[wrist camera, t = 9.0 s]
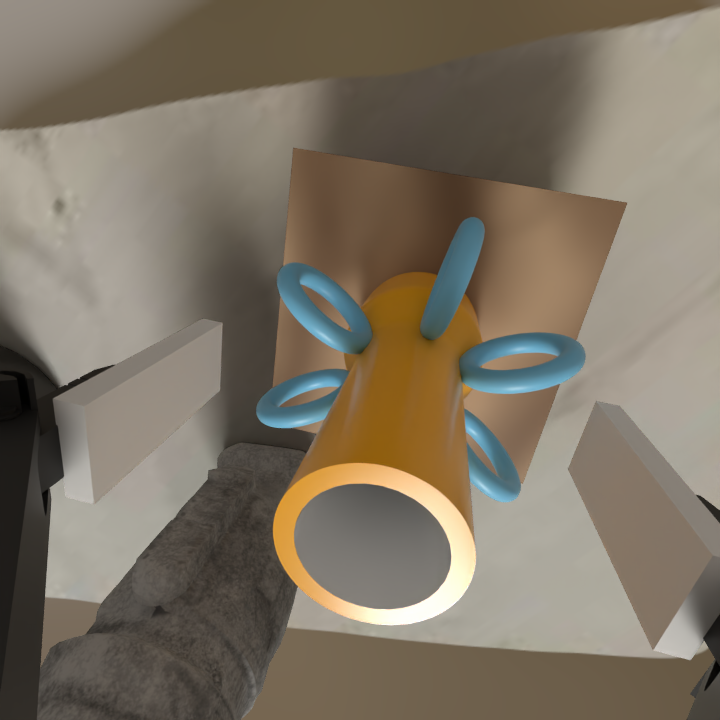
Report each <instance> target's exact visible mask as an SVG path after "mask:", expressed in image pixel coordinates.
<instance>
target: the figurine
mask: <svg viewBox="0 0 720 720" xmlns="http://www.w3.org/2000/svg"><path fill="white" fill-rule="evenodd" d="M305 455H306V453H305V452H303V451H301V450H294V449H288V448H282V447H274V446H267V445H259V444H250V443H238V444H236V445H233V446H231V447H228V448H226V449H224V450H223V451H222V453H221V454H220V455H219V457H218V462H217V466H218V468H217V469H212V470H208V480H207V481H206V482H205V483H204V484H203V485H202V486H201V488H200V489H199V490H198V491H197V492H196V493H195V495H194V496H193V497H192V498H191V499H190V500H189V501H188V502H187V503H186V504H185V505H184V506H183V507H182V508H181V510H180V511H179V512H178V514H177V515H176V517H175V518H174V519H173V520H171V521H170V522H169V523H168V524H167V525H166V527H165V528H164V529H163V530H162V531H161V532H160V533H159V534H158V535H157V537H156V538H155V539H154V540H153V541H152V542H151V543H150V545H149V546H148V547H147V548H146V549H145V550H144V551H143V553H142V554H141V555H140V556H139V557H138V558H137V560H136V563H135V564H134V565H133V567H132V568H131V569H130V570H129V571H128V573H127V574H126V575H125V576H124V578H123V579H122V580H121V581H120V583H119V584H118V585H117V586H116V587H115V588H114V589H113V590H112V592H111V593H110V594H109V595H108V596H107V597H106V598H105V600H104V601H103V602H102V604H101V606H100V607H99V609H98V611H97V616H96V622H95V623H94V624H93V626H92V627H91V628H90V629H89V631H88V632H87V633H86V634H85V635H83V636H78V637H74V638H71V639H68V640H65V641H62V642H59V643H57V644H56V645H55V646H53V647H52V648H51V649H50V651H49V653H48V654H47V656H46V659H45V660H44V662H43V665H42V667H41V668H40V678H39V693H38V708H37V720H241V718H243V717H244V716H245V715H246V714H247V713H248V712H249V711H250V710H251V708H252V707H253V705H254V702H255V700H256V698H257V696H258V695H259V694H260V692H261V691H262V687H263V684H264V680H265V677H266V673H267V670H268V666H269V663H270V661H271V659H272V658H273V656H274V654H275V653H276V651H277V649H278V647H279V645H280V644H281V641H282V638H283V636H284V633H285V631H286V627H287V624H288V620H289V617H290V613H291V610H292V606H293V603H294V599H295V594H296V590H297V587H298V586H297V585H296V584H295V583H294V581H293V580H292V579H291V578H290V576H289V575H288V574H287V572H286V571H285V569H284V567H283V566H282V564H281V562H280V560H279V557H278V555H277V552H276V549H275V544H274V539H273V522H274V517H275V513H276V510H277V507H278V505H279V503H280V501H281V499H282V498H283V496H284V494H285V492H286V490H287V488H288V486H289V485H290V483H291V481H292V479H293V477H294V475H295V473H296V472H297V470H298V468H299V466H300V464H301V462H302V460H303V458H304V457H305Z"/></svg>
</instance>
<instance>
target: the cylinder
mask: <svg viewBox="0 0 720 720" xmlns="http://www.w3.org/2000/svg"><path fill="white" fill-rule="evenodd" d="M484 234H485V228H484V224H483V222H482V221H481V220H480V219H478V218H476V217H470V218H467V219H465V220H464V221H463V222H462V223H461V224H460V226H459V228H458V230H457V231H456V233H455V236H454V238H453V240H452V242H451V244H450V246H449V249H448V251H447V253H446V256H445V258H444V260H443V263H442V265H441V268H440V270H439V273H438V275H436V274H432V273H427V272H409V273H403V274H400V275H397V276H394V277H392V278H390V279H388V280H386V281H385V282H383V283H382V284H381V285H379V286H378V287H377V288H376V289H375V290H374V291H373V292H372V293H371V294H370V296H369V297H368V298H367V300H366V301H365V302H364V304H363V305H362V306H361V308H360V307H359V305H358V304H357V303H356V302H355V301H354V299H353V298H352V297H351V296H350V295H349V294H348V293H347V292H346V291H345V290H344V289H343V288H342V287H341V286H339V285H338V284H337V283H336V282H335V281H333V280H332V279H331V278H330V277H328V276H327V275H325V274H324V273H322V272H321V271H319V270H317V269H315V268H313V267H311V266H309V265H306V264H303V263H297V262H293V263H288V264H286V265H284V266H283V267H282V268H281V269H280V271H279V273H278V276H277V286H278V290H279V293H280V295H281V298H282V300H283V301H284V303H285V305H286V306H287V308H288V309H289V311H290V312H291V313H292V314H293V316H294V317H295V318H296V319H297V320H298V321H299V322H300V323H301V324H302V325H303V326H304V327H305V328H306V329H307V330H308V331H309V332H310V333H311V334H312V335H314V336H315V337H316V338H318V339H319V340H320V341H322V342H323V343H325V344H326V345H328V346H330V347H332V348H334V349H336V350H338V351H341V352H344V360H345V366H346V370H344V369H324V370H318V371H313V372H309V373H306V374H302V375H299V376H297V377H294V378H291V379H289V380H287V381H285V382H282V383H281V384H279V385H277V386H275V387H274V388H272V389H271V390H269V391H268V392H267V393H266V394H264V395H263V396H262V398H261V399H260V400H259V402H258V404H257V407H256V413H257V417H258V418H259V420H260V421H261V422H262V423H264V424H265V425H267V426H270V427H274V428H293V427H300V426H305V425H309V424H312V423H315V422H318V421H321V420H324V421H323V423H322V425H321V427H320V429H319V431H318V432H317V434H316V436H315V438H314V440H313V442H312V444H311V445H310V447H309V449H308V451H307V453H306V455H305V457H304V458H303V460H302V462H301V464H300V466H299V468H298V470H297V472H296V473H295V475H294V477H293V479H292V481H291V483H290V485H289V486H288V488H287V490H286V492H285V494H284V496H283V498H282V499H281V501H280V503H279V505H278V507H277V510H276V513H275V517H274V522H273V539H274V544H275V549H276V552H277V555H278V557H279V560H280V562H281V564H282V566H283V567H284V569H285V571H286V572H287V574H288V575H289V576H290V578H291V579H292V580H293V581H294V583H295V584H296V585H297V586H298V587H299V588H300V589H301V590H302V591H303V592H304V593H306V594H307V595H308V596H309V597H311V598H312V599H313V600H315V601H316V602H317V603H319V604H321V605H322V606H324V607H326V608H327V609H329V610H331V611H333V612H335V613H338V614H340V615H342V616H345V617H348V618H351V619H354V620H358V621H362V622H366V623H372V624H380V625H402V624H410V623H415V622H419V621H423V620H426V619H429V618H432V617H434V616H436V615H438V614H440V613H442V612H444V611H445V610H447V609H448V608H450V607H451V606H452V605H453V604H454V603H456V602H457V601H458V600H459V599H460V597H461V596H462V595H463V594H464V592H465V591H466V589H467V588H468V586H469V584H470V582H471V580H472V577H473V574H474V569H475V563H476V551H475V538H474V526H473V514H472V501H471V489H470V482H471V483H472V484H474V485H475V486H476V487H477V488H478V489H479V490H480V491H482V492H483V493H484V494H486V495H487V496H489V497H490V498H492V499H494V500H497V501H500V502H510V501H513V500H514V499H516V498H517V497H518V495H519V493H520V489H521V483H520V478H519V475H518V472H517V469H516V467H515V465H514V463H513V461H512V459H511V458H510V456H509V454H508V453H507V451H506V450H505V448H504V447H503V445H502V444H501V443H500V441H499V440H498V439H497V438H496V436H495V435H494V434H493V433H492V432H491V431H490V429H489V428H488V427H487V426H486V425H485V424H484V423H483V422H482V421H481V420H480V419H478V418H477V417H476V416H475V415H474V414H472V413H471V412H470V411H468V410H467V409H465V408H464V399H465V398H466V397H467V396H468V394H469V393H470V392H471V391H472V389H475V390H478V391H482V392H487V393H496V394H516V393H526V392H532V391H537V390H542V389H546V388H549V387H552V386H555V385H558V384H560V383H562V382H564V381H566V380H568V379H570V378H571V377H573V376H574V375H575V374H577V373H578V372H579V371H580V369H581V368H582V367H583V365H584V362H585V357H586V356H585V351H584V348H583V347H582V345H581V344H580V343H579V342H577V341H576V340H574V339H573V338H571V337H568V336H565V335H561V334H555V333H545V332H532V333H520V334H513V335H507V336H503V337H498V338H495V339H491V340H488V341H485V342H483V341H482V336H481V332H480V328H479V324H478V320H477V316H476V313H475V310H474V308H473V305H472V304H471V302H470V300H469V298H468V297H467V296H466V294H465V291H466V289H467V286H468V284H469V281H470V279H471V276H472V274H473V271H474V268H475V266H476V263H477V260H478V257H479V254H480V251H481V247H482V244H483V240H484ZM301 284H302V285H304V286H307V287H309V288H311V289H312V290H314V291H316V292H317V293H319V294H320V295H321V296H323V297H324V298H325V299H326V300H327V301H329V302H330V303H331V304H332V305H333V306H334V307H335V308H336V309H337V310H338V311H339V313H340V314H341V315H342V316H343V317H344V319H345V320H346V322H347V323H348V325H349V328H348V330H346V329H344V328H343V327H341V326H339V325H338V324H336V323H335V322H334V321H332V320H331V319H330V318H328V317H327V316H326V315H325V314H324V313H323V312H322V311H321V310H320V309H319V308H318V307H317V306H316V305H315V304H314V303H313V302H312V301H311V300H310V298H309V297H308V296H307V294H306V293H305V291H304V290H303V288H302V286H301ZM520 353H547V354H552V355H556V356H558V357H556V358H554V359H553V360H550V361H548V362H545V363H543V364H539V365H536V366H532V367H527V368H521V369H512V370H491V369H485V368H482V365H483V364H485V363H487V362H489V361H491V360H494V359H497V358H500V357H504V356H508V355H513V354H520ZM323 387H338V388H337V389H336V390H334V391H333V392H331V393H329V394H328V395H326V396H324V397H321V398H319V399H316V400H314V401H311V402H308V403H304V404H301V405H296V406H290V407H279V406H280V405H281V404H282V403H284V402H285V401H287V400H289V399H290V398H292V397H294V396H297V395H299V394H301V393H304V392H307V391H310V390H314V389H318V388H323ZM466 432H467V433H468V434H469V435H470V436H471V437H472V438H473V439H474V440H475V441H476V442H477V443H478V444H479V446H480V447H481V448H482V449H483V451H484V452H485V453H486V455H487V456H488V458H489V459H490V461H491V463H492V464H493V466H494V468H495V470H496V472H497V475H498V476H497V475H495V474H494V473H493V472H492V471H491V470H490V469H489V468H488V467H487V466H486V465H485V464H484V463H483V462H482V461H481V460H480V459H479V458H478V456H477V455H476V454H475V453H474V451H473V450H472V449H471V447H470V446H469V444H468V443H467V439H466Z"/></svg>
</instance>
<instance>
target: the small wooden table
mask: <svg viewBox="0 0 720 720" xmlns="http://www.w3.org/2000/svg"><path fill="white" fill-rule="evenodd" d="M626 205H627V203H625V202H619V201H613V200H607V199H601V198H595V197H589V196H583V195H577V194H571V193H565V192H559V191H553V190H546V189H540V188H534V187H528V186H522V185H516V184H510V183H504V182H498V181H492V180H486V179H480V178H474V177H468V176H461V175H455V174H449V173H443V172H437V171H431V170H425V169H419V168H413V167H407V166H401V165H395V164H389V163H383V162H376V161H370V160H364V159H358V158H352V157H346V156H340V155H334V154H328V153H322V152H316V151H310V150H304V149H297V148H293V158H292V170H291V181H290V192H289V204H288V215H287V227H286V238H285V250H284V261H283V266H284V265H286V264H288V263H293V262H297V263H303V264H306V265H309V266H311V267H313V268H315V269H317V270H319V271H321V272H322V273H324V274H325V275H327V276H328V277H330V278H331V279H332V280H333V281H335V282H336V283H337V284H338V285H339V286H341V287H342V288H343V289H344V290H345V291H346V292H347V293H348V294H349V295H350V296H351V297H352V298H353V299H354V301H355V302H356V303H357V304H358V305H359V307H360V308H361V306H362V305H363V304H364V302H365V301H366V300H367V298H368V297H369V296H370V294H371V293H372V292H373V291H374V290H375V289H376V288H377V287H378V286H379V285H381V284H382V283H383V282H385V281H386V280H388V279H390V278H392V277H394V276H397V275H400V274H403V273H409V272H427V273H432V274H436V275H438V273H439V270H440V268H441V265H442V263H443V260H444V258H445V256H446V253H447V251H448V249H449V246H450V244H451V242H452V240H453V238H454V236H455V233H456V231H457V230H458V228H459V226H460V224H461V223H462V222H463V221H464V220H465V219H467V218H470V217H476V218H478V219H480V220H481V221H482V222H483V224H484V228H485V234H484V240H483V244H482V247H481V251H480V254H479V257H478V260H477V263H476V266H475V268H474V271H473V274H472V276H471V279H470V281H469V284H468V286H467V289H466V291H465V294H466V296H467V297H468V298H469V300H470V302H471V304H472V305H473V308H474V310H475V313H476V316H477V320H478V324H479V328H480V332H481V336H482V341H483V342H485V341H488V340H491V339H495V338H498V337H503V336H507V335H513V334H520V333H532V332H545V333H555V334H561V335H565V336H568V337H571V338H573V339H574V340H576V339H577V337H578V334H579V331H580V329H581V326H582V323H583V321H584V318H585V315H586V313H587V310H588V307H589V305H590V302H591V299H592V296H593V294H594V291H595V288H596V286H597V283H598V280H599V278H600V275H601V272H602V270H603V267H604V264H605V262H606V259H607V256H608V254H609V251H610V248H611V245H612V243H613V240H614V237H615V235H616V232H617V229H618V227H619V224H620V221H621V219H622V216H623V213H624V211H625V208H626ZM301 286H302V288H303V290H304V291H305V293H306V294H307V296H308V297H309V298H310V300H311V301H312V302H313V303H314V304H315V305H316V306H317V307H318V308H319V309H320V310H321V311H322V312H323V313H324V314H325V315H326V316H327V317H328V318H330V319H331V320H332V321H334V322H335V323H336V324H338V325H339V326H341V327H343V328H344V329H346V330H348V328H349V325H348V323H347V322H346V320H345V319H344V317H343V316H342V315H341V314H340V313H339V311H338V310H337V309H336V308H335V307H334V306H333V305H332V304H331V303H330V302H329V301H327V300H326V299H325V298H324V297H323V296H321V295H320V294H319V293H317V292H316V291H314V290H312V289H311V288H309V287H307V286H304V285H302V284H301ZM556 357H558V356H556V355H552V354H547V353H520V354H513V355H508V356H504V357H500V358H497V359H494V360H491V361H489V362H487V363H485V364H483V365H482V368H485V369H491V370H512V369H521V368H527V367H532V366H536V365H539V364H543V363H545V362H548V361H550V360H553V359H554V358H556ZM324 369H344V370H346V366H345V360H344V352H341V351H338V350H336V349H334V348H332V347H330V346H328V345H326V344H325V343H323V342H322V341H320V340H319V339H318V338H316V337H315V336H314V335H312V334H311V333H310V332H309V331H308V330H307V329H306V328H305V327H304V326H303V325H302V324H301V323H300V322H299V321H298V320H297V319H296V318H295V317H294V316H293V314H292V313H291V312H290V311H289V309H288V308H287V306H286V305H285V303H284V301H283V300H282V298H281V296H280V307H279V319H278V330H277V341H276V353H275V364H274V376H273V387H272V388H274V387H275V386H277V385H279V384H281V383H282V382H285V381H287V380H289V379H291V378H294V377H297V376H299V375H302V374H306V373H309V372H313V371H318V370H324ZM559 385H560V384H558V385H555V386H552V387H549V388H546V389H542V390H537V391H532V392H526V393H516V394H496V393H487V392H482V391H478V390H475V389H472V391H471V392H470V393H469V394H468V396H467V397H466V398H465V399H464V408H465V409H467V410H468V411H470V412H471V413H472V414H474V415H475V416H476V417H477V418H478V419H480V420H481V421H482V422H483V423H484V424H485V425H486V426H487V427H488V428H489V429H490V431H491V432H492V433H493V434H494V435H495V436H496V438H497V439H498V440H499V441H500V443H501V444H502V445H503V447H504V448H505V450H506V451H507V453H508V454H509V456H510V458H511V459H512V461H513V463H514V465H515V467H516V469H517V472H518V475H519V478H520V483H522V484H523V482H524V479H525V476H526V474H527V471H528V468H529V466H530V463H531V460H532V458H533V455H534V452H535V449H536V447H537V444H538V441H539V439H540V436H541V433H542V431H543V428H544V425H545V423H546V420H547V417H548V415H549V412H550V409H551V407H552V404H553V401H554V398H555V396H556V393H557V390H558V388H559ZM337 388H338V387H323V388H318V389H314V390H310V391H307V392H304V393H301V394H299V395H297V396H294V397H292V398H290V399H289V400H287V401H285V402H284V403H282V404H281V405H280V406H279V407H290V406H296V405H301V404H304V403H308V402H311V401H314V400H316V399H319V398H321V397H324V396H326V395H328V394H329V393H331V392H333V391H334V390H336V389H337ZM323 421H324V420H321V421H318V422H315V423H312V424H309V425H305V426H300V427H293V428H294V429H298V430H303V431H307V432H311V433H315V434H317V432H318V431H319V429H320V427H321V425H322V423H323ZM466 439H467V443H468V444H469V446H470V447H471V449H472V450H473V451H474V453H475V454H476V455H477V456H478V458H479V459H480V460H481V461H482V462H483V463H484V464H485V465H486V466H487V467H488V468H489V469H490V470H491V471H492V472H493V473H494V474H495V475H497V472H496V470H495V468H494V466H493V464H492V463H491V461H490V459H489V458H488V456H487V455H486V453H485V452H484V451H483V449H482V448H481V447H480V446H479V444H478V443H477V442H476V441H475V440H474V439H473V438H472V437H471V436H470V435H469V434H468V433H467V432H466ZM497 476H498V475H497Z"/></svg>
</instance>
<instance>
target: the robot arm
mask: <svg viewBox="0 0 720 720" xmlns="http://www.w3.org/2000/svg"><path fill="white" fill-rule="evenodd" d="M222 327H223V323H222V322H217V321H212V320H207V319H201V320H199V321H197V322H195V323H193V324H192V325H190V326H188V327H186V328H184V329H182V330H180V331H178V332H177V333H175V334H173V335H171V336H169V337H167V338H165V339H163V340H162V341H160V342H158V343H156V344H154V345H152V346H150V347H148V348H147V349H145V350H143V351H141V352H139V353H137V354H135V355H133V356H132V357H130V358H128V359H126V360H124V361H122V362H120V363H118V364H117V365H111V366H107V367H104V368H100V369H96V370H93V371H92V372H90V373H88V374H86V375H84V376H82V377H80V379H76V380H74V381H72V382H70V383H68V385H64V386H62V387H60V388H59V389H56V388H55V387H54V385H53V384H52V383H51V382H50V381H49V380H48V378H47V377H46V376H45V375H44V374H43V373H42V372H41V371H40V370H38V369H37V368H36V367H35V366H34V365H33V364H31V363H30V362H29V361H27V360H26V359H24V358H23V357H21V356H20V355H18V354H16V353H14V352H13V351H11V350H9V349H6V348H4V347H1V346H0V720H37V708H38V693H39V678H40V663H41V648H42V632H43V617H44V602H45V601H44V600H45V587H46V572H47V557H48V541H49V526H50V511H51V494H50V487H51V486H52V485H54V484H55V483H56V482H58V481H59V480H60V479H62V478H63V482H64V490H65V497H67V498H71V499H74V500H78V501H82V502H86V503H90V504H95V503H96V502H97V501H99V500H100V499H101V498H102V497H103V496H104V495H105V494H106V493H107V492H108V491H110V490H111V489H112V488H113V487H114V486H115V485H116V484H117V483H118V482H120V481H121V480H122V479H123V478H124V477H125V476H126V475H127V474H128V473H129V472H131V471H132V470H133V469H134V468H135V467H136V466H137V465H138V464H139V463H141V462H142V461H143V460H144V459H145V458H146V457H147V456H148V455H149V454H150V453H152V452H153V451H154V450H155V449H156V448H157V447H158V446H159V445H160V444H162V443H163V442H164V441H165V440H166V439H167V438H168V437H169V436H170V435H171V434H173V433H174V432H175V431H176V430H177V429H178V428H179V427H180V426H181V425H182V424H184V423H185V422H186V421H187V420H188V419H189V418H190V417H191V416H192V415H194V414H195V413H196V412H197V411H198V410H199V409H200V408H201V407H202V406H203V405H205V404H206V403H207V402H208V401H209V400H210V399H211V398H212V397H213V396H215V395H216V394H217V393H218V392H219V391H220V381H221V354H222ZM568 470H569V472H570V474H571V476H572V479H573V481H574V483H575V485H576V487H577V489H578V491H579V493H580V496H581V498H582V500H583V502H584V504H585V506H586V508H587V510H588V513H589V515H590V517H591V519H592V521H593V523H594V525H595V528H596V530H597V532H598V534H599V536H600V538H601V540H602V542H603V545H604V547H605V549H606V551H607V553H608V555H609V557H610V560H611V562H612V564H613V566H614V568H615V570H616V572H617V574H618V577H619V579H620V581H621V583H622V585H623V587H624V589H625V592H626V594H627V596H628V598H629V600H630V602H631V604H632V606H633V609H634V611H635V613H636V615H637V617H638V619H639V621H640V623H641V626H642V628H643V630H644V632H645V634H646V636H647V638H648V641H649V643H650V645H651V647H652V649H653V651H657V652H661V653H665V654H669V655H672V656H676V657H680V658H684V659H688V660H691V659H692V657H693V656H694V654H695V653H696V652H697V650H698V649H699V647H700V646H701V644H702V643H703V641H705V642H706V644H707V646H708V647H709V649H710V651H711V652H712V654H713V656H714V658H715V660H714V661H713V663H712V664H711V666H710V667H709V668H708V670H707V671H706V672H705V674H704V675H703V677H702V678H701V679H700V681H699V682H698V684H697V685H696V687H695V688H694V689H693V691H692V692H691V695H692V696H694V697H695V701H694V703H693V706H692V708H691V710H690V713H689V715H688V718H687V720H720V510H718V509H717V508H716V507H715V506H713V505H712V504H711V503H709V502H708V501H707V500H705V499H704V498H703V497H701V496H699V495H695V494H694V492H693V491H692V490H691V489H690V488H689V487H688V485H687V484H686V483H685V482H684V481H683V480H682V478H681V477H680V476H679V475H678V474H677V472H676V471H675V470H674V469H673V468H672V467H671V465H670V464H669V463H668V462H667V461H666V460H665V458H664V457H663V456H662V455H661V454H660V453H659V451H658V450H657V449H656V448H655V447H654V445H653V444H652V443H651V442H650V441H649V440H648V438H647V437H646V436H645V435H644V434H643V433H642V431H641V430H640V429H639V428H638V427H637V425H636V424H635V423H634V422H633V421H632V420H631V418H630V417H629V416H628V415H627V414H626V413H625V411H624V410H623V409H622V408H621V407H620V406H617V405H613V404H608V403H603V402H598V401H596V403H595V405H594V407H593V410H592V412H591V415H590V417H589V420H588V422H587V424H586V427H585V429H584V432H583V434H582V436H581V439H580V441H579V444H578V446H577V448H576V451H575V453H574V456H573V458H572V461H571V463H570V465H569V468H568Z"/></svg>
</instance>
